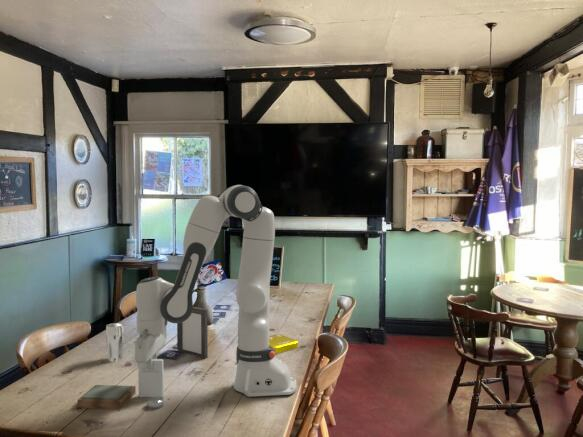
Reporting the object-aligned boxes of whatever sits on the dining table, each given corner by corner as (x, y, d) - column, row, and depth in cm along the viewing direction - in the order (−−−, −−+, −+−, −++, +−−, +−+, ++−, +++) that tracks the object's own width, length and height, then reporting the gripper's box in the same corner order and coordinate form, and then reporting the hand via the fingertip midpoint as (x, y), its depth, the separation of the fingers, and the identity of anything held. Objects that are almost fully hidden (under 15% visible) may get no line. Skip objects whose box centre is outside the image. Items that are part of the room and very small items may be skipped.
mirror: (135, 393, 163) (135, 384, 163) (120, 409, 151) (120, 399, 151) (95, 392, 164) (95, 383, 164) (77, 407, 152) (77, 398, 152)
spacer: (165, 403, 156) (165, 397, 156) (160, 410, 151) (160, 404, 151) (150, 403, 156) (150, 397, 156) (144, 409, 151) (144, 403, 151)
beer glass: (127, 361, 195) (127, 325, 194) (111, 366, 189) (110, 328, 189) (119, 357, 199) (118, 321, 199) (103, 361, 194) (102, 325, 194)
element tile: (273, 358, 201) (273, 346, 201) (252, 349, 212) (252, 338, 212) (300, 350, 211) (300, 339, 210) (279, 342, 222) (279, 332, 222)
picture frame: (177, 353, 204) (177, 305, 203) (180, 352, 206) (180, 304, 205) (204, 361, 196) (204, 310, 195) (208, 359, 197) (208, 309, 196)
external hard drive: (140, 395, 162) (139, 358, 161) (164, 395, 162) (163, 359, 161) (138, 397, 160) (137, 360, 160) (162, 397, 160) (162, 360, 160)
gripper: (148, 335, 149) (149, 378, 150) (169, 318, 170) (170, 356, 170) (128, 334, 150) (130, 378, 150) (151, 318, 170) (152, 356, 171)
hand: (151, 366), depth 161 cm, fingers closed
